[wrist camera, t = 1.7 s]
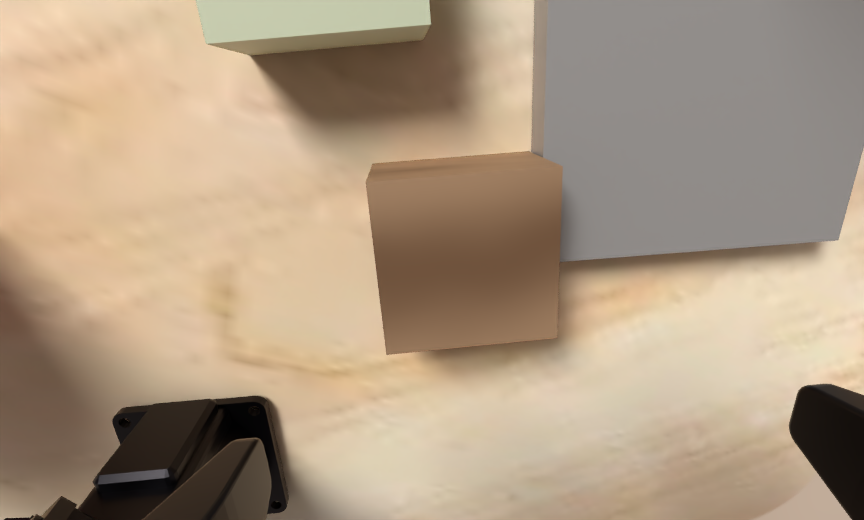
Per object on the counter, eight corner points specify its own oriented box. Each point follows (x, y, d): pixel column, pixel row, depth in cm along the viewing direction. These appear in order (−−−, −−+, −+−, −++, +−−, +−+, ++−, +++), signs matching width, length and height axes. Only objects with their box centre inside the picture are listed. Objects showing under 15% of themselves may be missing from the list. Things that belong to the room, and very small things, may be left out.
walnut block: (526, 291, 20) (557, 338, 16) (388, 304, 19) (386, 354, 16) (527, 151, 18) (562, 166, 14) (372, 162, 17) (365, 182, 14)
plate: (805, 229, 19) (838, 240, 18) (529, 250, 19) (539, 263, 17) (889, -115, 15) (940, -136, 14) (536, -101, 15) (551, -122, 13)
